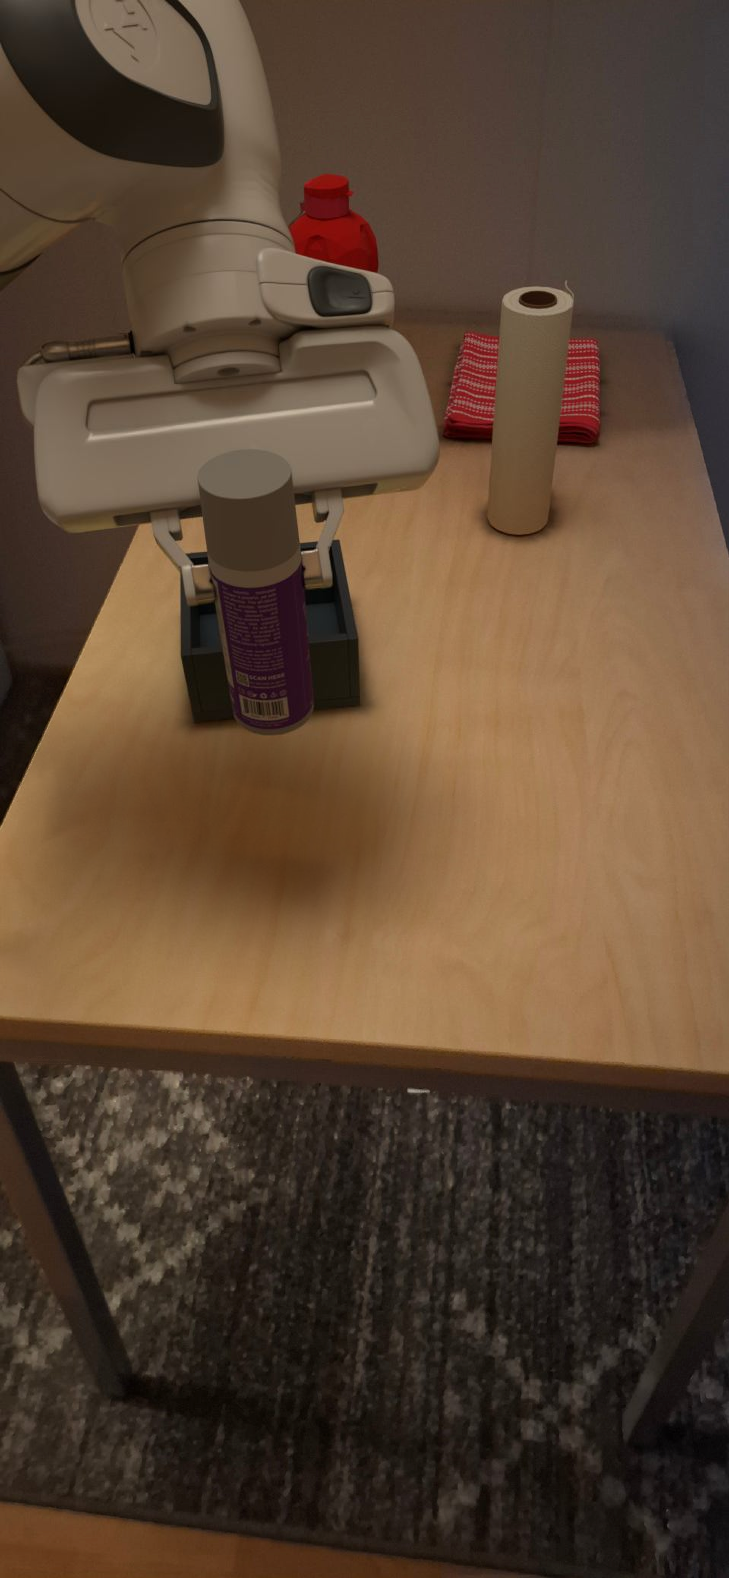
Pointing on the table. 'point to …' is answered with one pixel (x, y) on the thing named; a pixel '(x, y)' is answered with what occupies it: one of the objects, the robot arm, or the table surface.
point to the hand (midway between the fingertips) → (261, 595)
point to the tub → (326, 634)
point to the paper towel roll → (528, 406)
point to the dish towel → (478, 387)
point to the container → (258, 588)
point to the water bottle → (333, 226)
